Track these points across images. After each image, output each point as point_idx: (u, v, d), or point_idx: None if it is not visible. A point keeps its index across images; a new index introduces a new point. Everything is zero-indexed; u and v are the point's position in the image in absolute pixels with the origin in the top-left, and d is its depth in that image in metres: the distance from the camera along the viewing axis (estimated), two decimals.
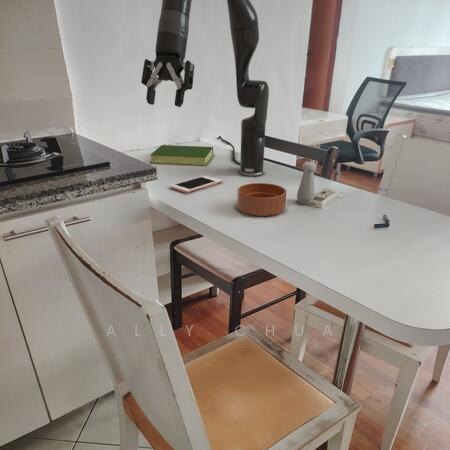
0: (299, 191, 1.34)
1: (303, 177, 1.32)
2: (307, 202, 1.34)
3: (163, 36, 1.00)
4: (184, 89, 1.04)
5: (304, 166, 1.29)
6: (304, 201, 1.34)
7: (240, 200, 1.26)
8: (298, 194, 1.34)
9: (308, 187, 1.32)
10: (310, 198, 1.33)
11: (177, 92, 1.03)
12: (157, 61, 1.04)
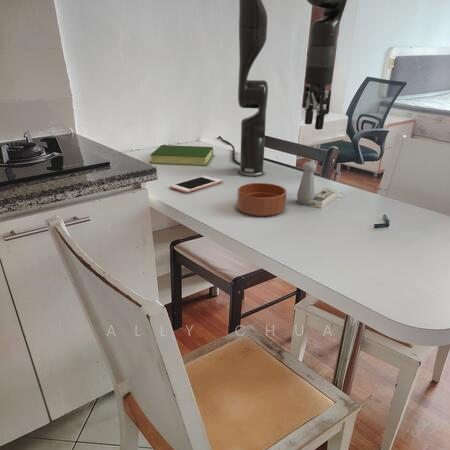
0: (299, 191, 1.34)
1: (303, 177, 1.32)
2: (307, 202, 1.34)
3: None
4: None
5: (304, 166, 1.29)
6: (304, 201, 1.34)
7: (240, 200, 1.26)
8: (298, 194, 1.34)
9: (308, 187, 1.32)
10: (310, 198, 1.33)
11: None
12: None
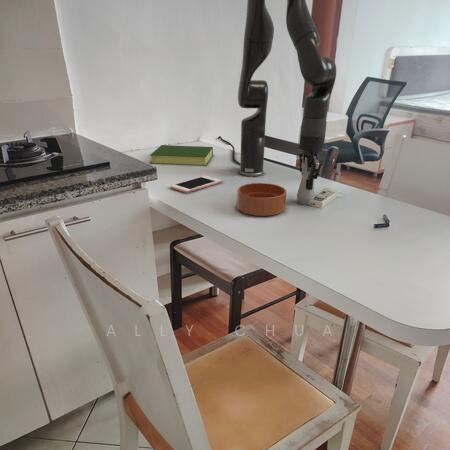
0: (299, 191, 1.34)
1: (303, 177, 1.32)
2: (307, 202, 1.34)
3: None
4: None
5: (304, 166, 1.29)
6: (304, 201, 1.34)
7: (240, 200, 1.26)
8: (298, 194, 1.34)
9: None
10: (310, 198, 1.33)
11: None
12: None
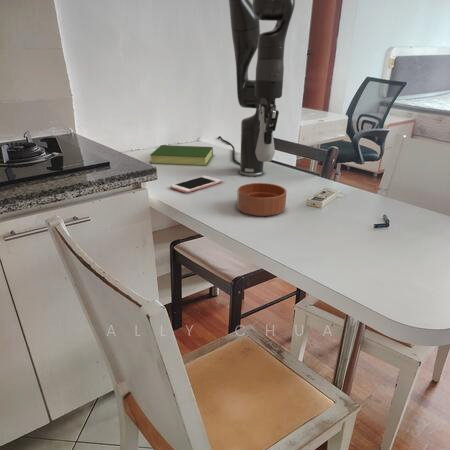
0: (257, 146, 1.21)
1: (260, 130, 1.19)
2: (266, 159, 1.21)
3: None
4: None
5: (261, 117, 1.16)
6: (263, 158, 1.21)
7: (240, 200, 1.26)
8: (256, 150, 1.21)
9: None
10: (269, 154, 1.20)
11: None
12: None
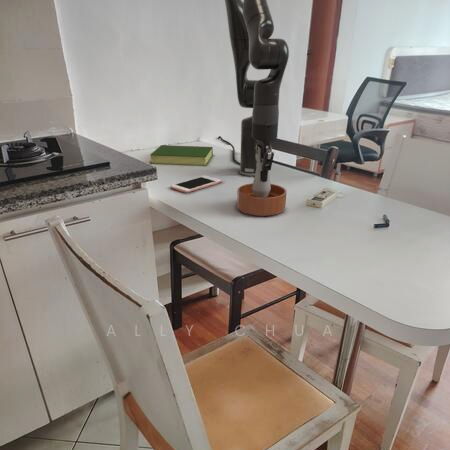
0: (254, 183, 1.26)
1: (257, 169, 1.24)
2: (262, 195, 1.27)
3: None
4: None
5: (257, 157, 1.22)
6: (259, 194, 1.27)
7: (240, 200, 1.26)
8: (253, 187, 1.27)
9: None
10: (265, 191, 1.26)
11: None
12: None
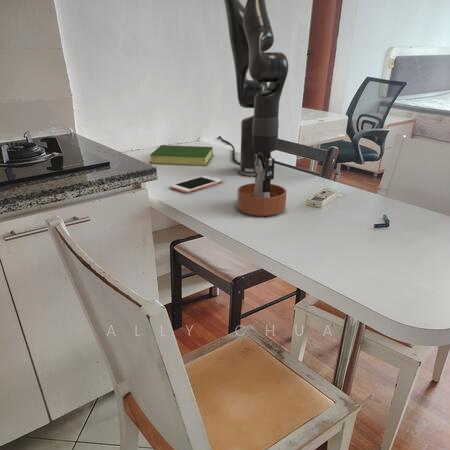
0: (253, 195, 1.28)
1: (256, 181, 1.26)
2: None
3: None
4: None
5: (257, 169, 1.24)
6: None
7: (240, 200, 1.26)
8: None
9: (262, 191, 1.26)
10: None
11: None
12: None
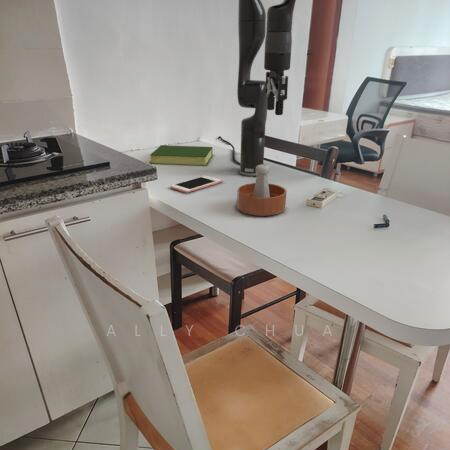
0: (253, 195, 1.28)
1: (256, 181, 1.26)
2: None
3: None
4: None
5: (257, 169, 1.24)
6: None
7: (240, 200, 1.26)
8: None
9: (262, 191, 1.26)
10: None
11: None
12: None
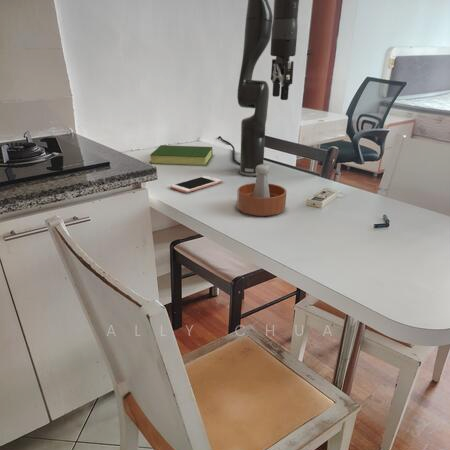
0: (253, 195, 1.28)
1: (256, 181, 1.26)
2: None
3: None
4: None
5: (257, 169, 1.24)
6: None
7: (240, 200, 1.26)
8: None
9: (262, 191, 1.26)
10: None
11: None
12: None
